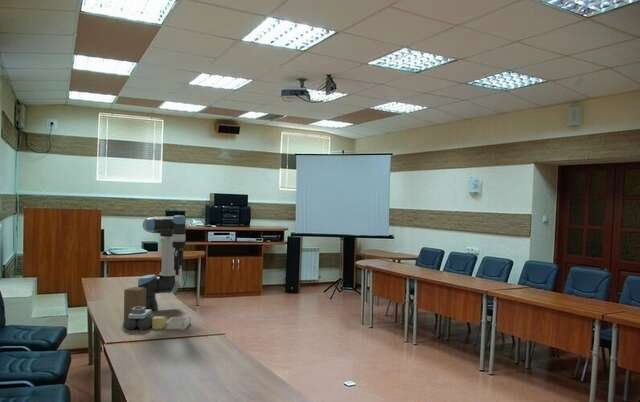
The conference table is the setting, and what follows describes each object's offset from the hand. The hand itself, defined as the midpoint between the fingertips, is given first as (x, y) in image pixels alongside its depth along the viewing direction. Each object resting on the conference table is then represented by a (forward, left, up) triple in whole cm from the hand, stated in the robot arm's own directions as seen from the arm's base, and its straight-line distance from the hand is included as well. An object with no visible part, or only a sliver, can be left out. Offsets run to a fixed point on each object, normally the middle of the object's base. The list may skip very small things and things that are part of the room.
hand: (178, 279), depth 287 cm
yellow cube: (+2, -11, -29) cm, 31 cm away
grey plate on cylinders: (+2, -22, -28) cm, 36 cm away
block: (-15, -31, -29) cm, 45 cm away
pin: (0, 0, -4) cm, 4 cm away
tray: (0, 0, -28) cm, 28 cm away
